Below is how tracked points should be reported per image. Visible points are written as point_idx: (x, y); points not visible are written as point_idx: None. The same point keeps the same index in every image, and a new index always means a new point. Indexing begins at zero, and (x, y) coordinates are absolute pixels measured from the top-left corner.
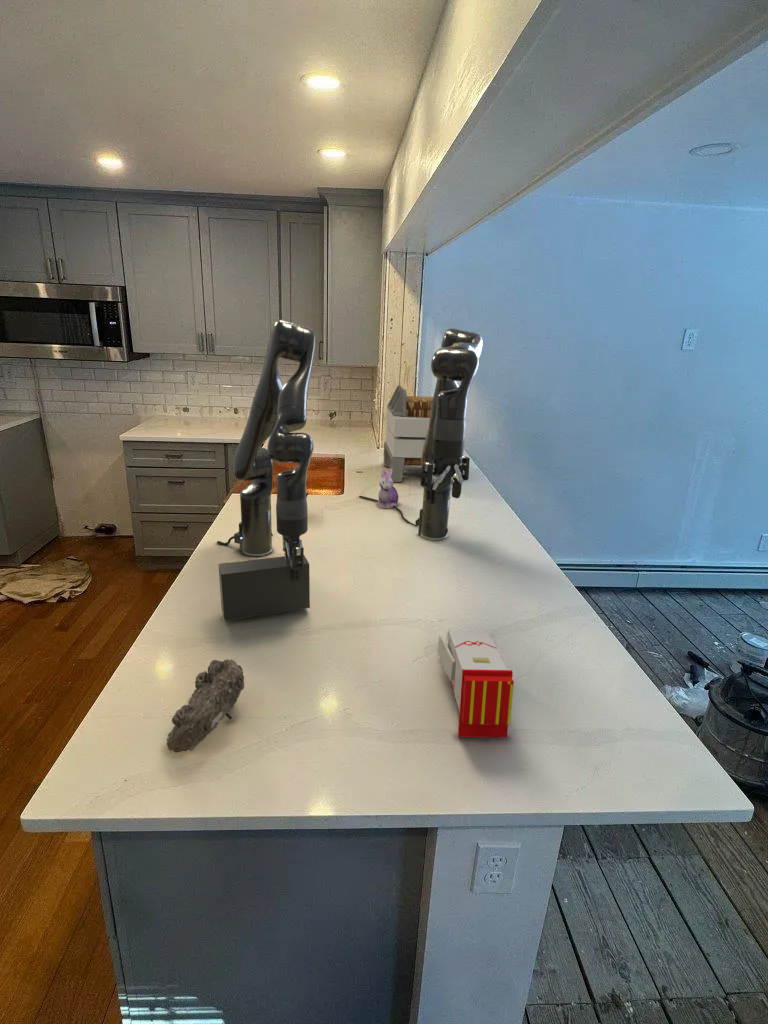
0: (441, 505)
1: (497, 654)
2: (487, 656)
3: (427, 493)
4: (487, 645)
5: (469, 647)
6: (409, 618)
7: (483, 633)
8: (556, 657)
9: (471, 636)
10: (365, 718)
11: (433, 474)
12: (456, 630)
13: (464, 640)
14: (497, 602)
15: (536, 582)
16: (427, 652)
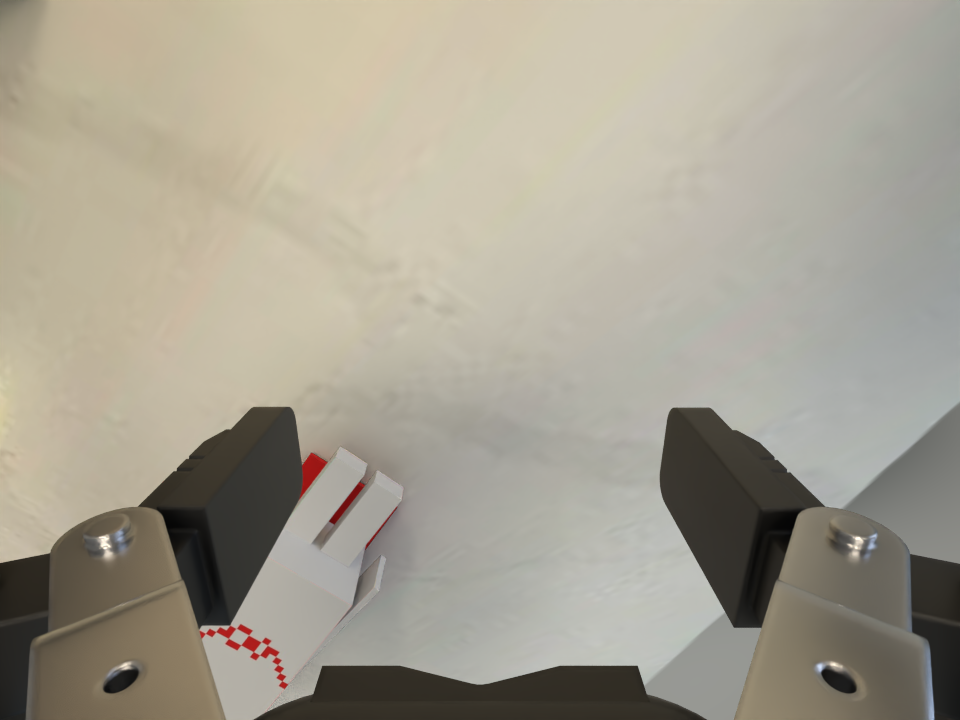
0: None
1: (258, 710)
2: (227, 706)
3: (161, 496)
4: (274, 668)
5: (221, 654)
6: (368, 240)
7: (322, 615)
8: (558, 583)
9: (277, 612)
10: (36, 495)
11: (145, 701)
12: (267, 565)
13: (240, 620)
14: (688, 337)
15: (929, 323)
16: (300, 405)
